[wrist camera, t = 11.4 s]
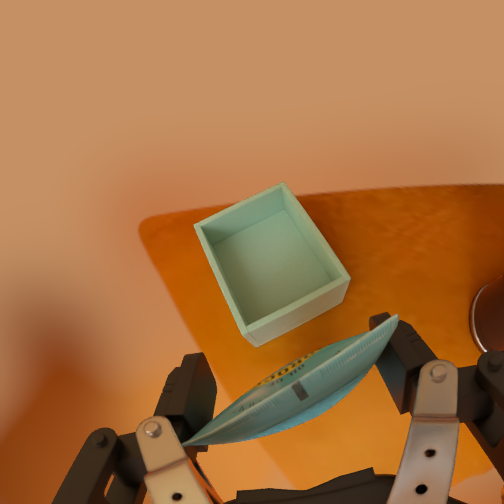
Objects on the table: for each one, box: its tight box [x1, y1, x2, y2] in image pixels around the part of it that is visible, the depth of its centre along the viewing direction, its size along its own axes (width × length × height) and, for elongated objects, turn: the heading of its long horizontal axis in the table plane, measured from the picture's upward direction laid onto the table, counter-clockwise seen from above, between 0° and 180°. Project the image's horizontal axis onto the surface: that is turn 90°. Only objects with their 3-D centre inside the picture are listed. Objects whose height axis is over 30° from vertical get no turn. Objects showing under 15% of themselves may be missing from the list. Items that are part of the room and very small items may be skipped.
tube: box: [182, 314, 399, 447], centre depth 16 cm, size 7×5×19 cm, turn 125°
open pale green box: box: [194, 182, 351, 348], centre depth 29 cm, size 10×12×7 cm
